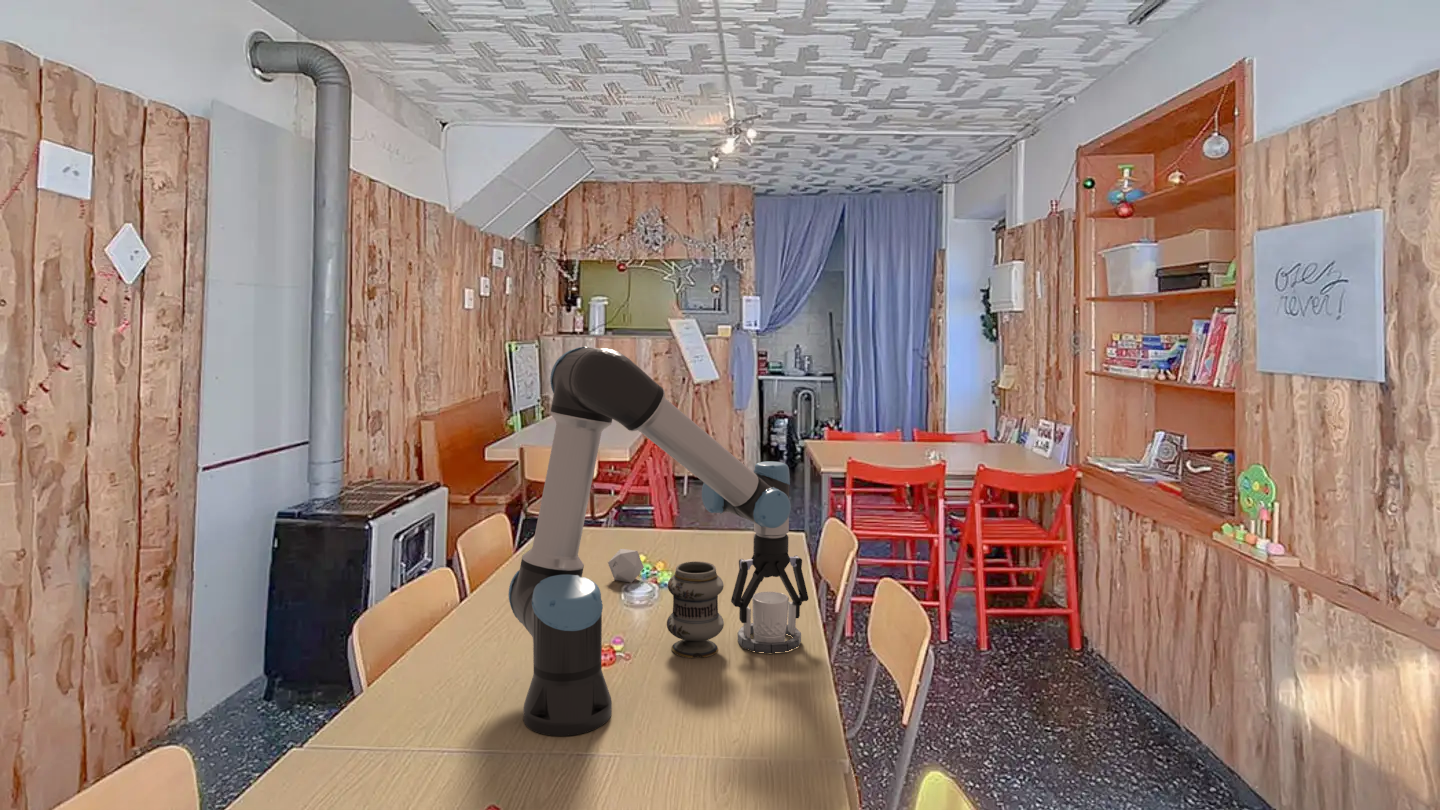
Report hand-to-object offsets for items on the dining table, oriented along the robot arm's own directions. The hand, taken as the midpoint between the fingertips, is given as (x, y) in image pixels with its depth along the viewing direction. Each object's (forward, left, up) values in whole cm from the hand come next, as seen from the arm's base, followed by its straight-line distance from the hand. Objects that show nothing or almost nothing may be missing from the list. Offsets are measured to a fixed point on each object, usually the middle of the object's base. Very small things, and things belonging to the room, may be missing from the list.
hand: (769, 634), depth 174 cm
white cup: (0, 0, -2) cm, 2 cm away
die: (+51, +24, -2) cm, 56 cm away
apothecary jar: (0, +17, -2) cm, 17 cm away
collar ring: (0, 0, -2) cm, 2 cm away
